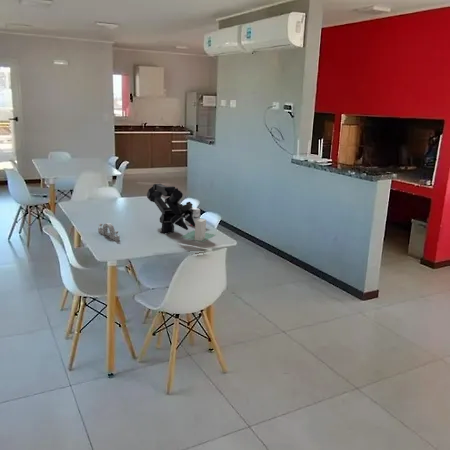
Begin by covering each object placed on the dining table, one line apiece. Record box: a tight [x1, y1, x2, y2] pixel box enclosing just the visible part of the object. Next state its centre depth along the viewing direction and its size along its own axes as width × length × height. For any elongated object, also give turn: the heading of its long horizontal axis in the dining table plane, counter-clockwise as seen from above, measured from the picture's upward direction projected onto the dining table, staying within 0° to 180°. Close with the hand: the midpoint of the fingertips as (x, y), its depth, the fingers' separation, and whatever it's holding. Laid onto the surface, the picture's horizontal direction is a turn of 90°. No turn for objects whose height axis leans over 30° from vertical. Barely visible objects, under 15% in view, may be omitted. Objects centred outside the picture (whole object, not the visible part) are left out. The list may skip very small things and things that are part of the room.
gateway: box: [97, 222, 121, 242], centre depth 260 cm, size 20×2×8 cm, turn 43°
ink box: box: [184, 206, 201, 227], centre depth 292 cm, size 8×5×12 cm, turn 55°
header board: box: [179, 230, 216, 243], centre depth 269 cm, size 15×17×3 cm
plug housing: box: [194, 218, 207, 242], centre depth 263 cm, size 4×6×11 cm, turn 157°
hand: (191, 227), depth 265 cm, fingers open, 9 cm apart
